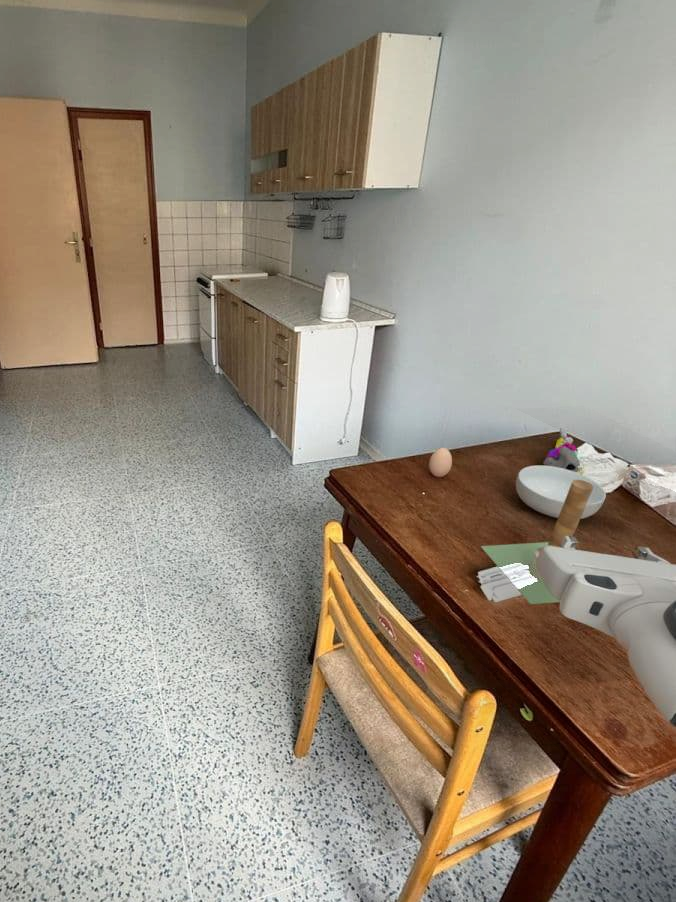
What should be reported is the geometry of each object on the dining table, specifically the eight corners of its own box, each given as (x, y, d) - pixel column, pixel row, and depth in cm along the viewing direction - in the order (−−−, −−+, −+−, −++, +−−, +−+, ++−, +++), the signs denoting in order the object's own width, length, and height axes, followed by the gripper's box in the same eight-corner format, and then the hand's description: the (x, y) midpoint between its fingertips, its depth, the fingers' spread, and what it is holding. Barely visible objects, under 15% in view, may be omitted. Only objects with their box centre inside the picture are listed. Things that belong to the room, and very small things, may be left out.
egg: (435, 469, 126) (441, 441, 122) (452, 477, 122) (459, 449, 118) (422, 474, 124) (428, 446, 120) (439, 483, 120) (446, 454, 116)
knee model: (562, 460, 139) (571, 490, 119) (536, 444, 141) (541, 471, 121) (587, 436, 134) (601, 463, 114) (560, 420, 136) (569, 444, 116)
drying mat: (562, 543, 98) (563, 540, 98) (625, 599, 84) (626, 597, 84) (479, 548, 97) (480, 546, 97) (529, 606, 83) (530, 603, 83)
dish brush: (551, 562, 92) (586, 474, 83) (573, 583, 87) (613, 492, 78) (521, 564, 92) (553, 476, 83) (542, 585, 87) (578, 494, 77)
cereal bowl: (548, 535, 101) (558, 508, 97) (494, 494, 115) (501, 469, 112) (614, 524, 104) (626, 498, 100) (553, 486, 118) (562, 461, 115)
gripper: (760, 610, 56) (694, 539, 68) (563, 577, 61) (534, 517, 73) (733, 646, 59) (675, 573, 70) (548, 613, 64) (522, 549, 76)
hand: (602, 544), depth 72 cm, fingers open, 8 cm apart
